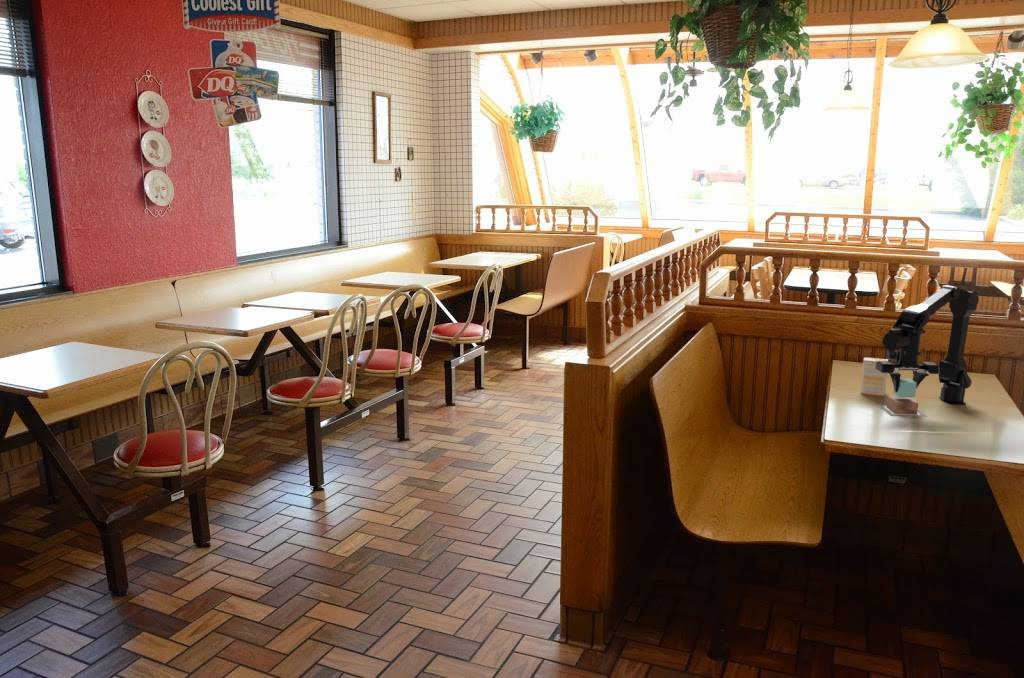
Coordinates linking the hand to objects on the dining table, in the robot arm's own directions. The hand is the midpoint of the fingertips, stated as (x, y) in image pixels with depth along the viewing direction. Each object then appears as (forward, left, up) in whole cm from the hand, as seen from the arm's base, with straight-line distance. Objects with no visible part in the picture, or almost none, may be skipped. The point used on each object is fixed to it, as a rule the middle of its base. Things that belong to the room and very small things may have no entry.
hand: (904, 391), depth 267 cm
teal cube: (0, 0, -1) cm, 1 cm away
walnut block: (0, 0, -7) cm, 7 cm away
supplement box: (+2, -20, -7) cm, 21 cm away
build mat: (0, 0, -7) cm, 7 cm away
